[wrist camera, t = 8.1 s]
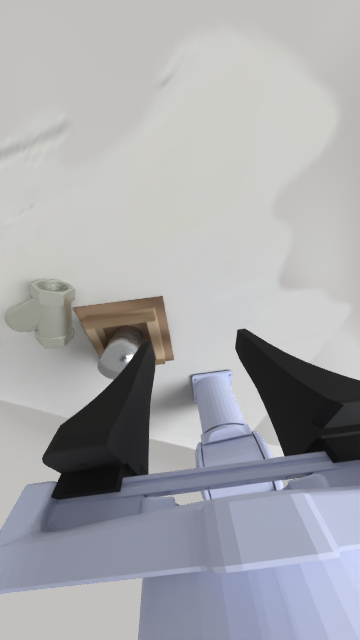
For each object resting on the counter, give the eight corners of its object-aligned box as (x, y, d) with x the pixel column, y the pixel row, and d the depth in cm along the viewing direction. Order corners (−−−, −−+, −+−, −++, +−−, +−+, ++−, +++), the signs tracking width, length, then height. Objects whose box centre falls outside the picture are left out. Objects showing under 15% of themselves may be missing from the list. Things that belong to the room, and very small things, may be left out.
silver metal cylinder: (145, 346, 23) (139, 378, 18) (118, 348, 23) (104, 381, 18) (140, 324, 21) (131, 353, 16) (110, 326, 21) (91, 356, 16)
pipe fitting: (28, 320, 21) (77, 334, 22) (-2, 336, 17) (58, 352, 18) (19, 265, 17) (79, 286, 18) (-21, 272, 14) (56, 297, 15)
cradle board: (173, 355, 26) (174, 368, 24) (108, 364, 26) (102, 377, 24) (162, 294, 20) (161, 302, 18) (77, 305, 20) (65, 314, 18)
